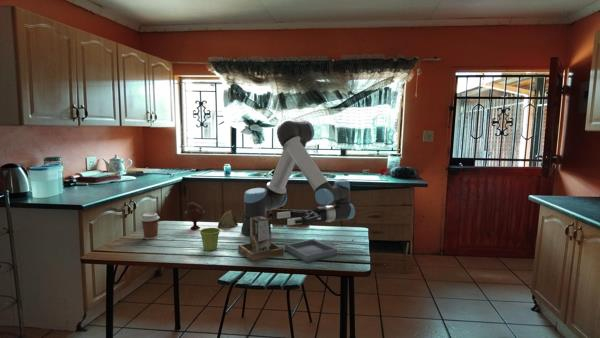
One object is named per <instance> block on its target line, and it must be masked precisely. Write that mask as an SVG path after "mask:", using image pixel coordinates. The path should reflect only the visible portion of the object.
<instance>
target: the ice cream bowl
mask: <svg viewBox="0 0 600 338" xmlns="http://www.w3.org/2000/svg"><path fill="white" fill-rule="evenodd" d="M185 208H186V211H184V213H183V215H184V216H185V218H186V219H187V220H188V221H190V222H192V223H193V225H192V226H191V227H190V228H189V230H191V231H197V230H196V229H198V230H201V226H198V224H197V222H199V221H201V220H202V219H203V217H204V216H205V213H206V211H205V210H203V206H201V205H200V204H197V203H196V202H191V201H190V202H189V203H187V204H186V207H185Z"/></svg>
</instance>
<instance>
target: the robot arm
mask: <svg viewBox="0 0 600 338" xmlns="http://www.w3.org/2000/svg"><path fill="white" fill-rule="evenodd" d="M276 136H277V139H278V140H277V141H278V142H279V144H280V146H281V147H282V148H283V150H282V152H281V155H280V158H279V160H278V162H277V165H276V167H275V169H274V173H273V175H272V178H271V180H270V181H268V182H267V183H266V186H265V188H264V187H255V188H251V189H247V190H245V191H244V195H243V211H244V213H243V215H244V217H243V219H244V220H243V222H242V225H241V228H240V231H241V235H242V236H245V237H250V217H256V216H264V217H266V218H267V211H272V210H276V209H277V210H278V209H279V208H281V207H283V206H285V204H286V202H287V201H288V194H287V193H288V192H287V188H286V186H287V183H288V182H289V178H290V177H291V174H292V171H293V169H294V167H295V165H296V166H297V167H298V168H299V170H300V171H301V173H302V175H303V176H304V177H305V179H306V181H307V182H308V183H309V184H310V187H311V188H312V189H313V191H314V192H315V195H314V198H315V202H316V203H317V204H319V206H316V207H315V208H314V210H313V211H312V210H310V209H304V210H303V209H302V210H301V209H300V210H299V209H289V211H281V212H280V211H279V212H276V218H277V219H279V220H280V219H287V220H286V221H287V223H286V224H287V226H293V225H294V226H295V225H305V226H308V225H312V224H314V223H318V224H321V223H331V222H336V221H337V222H338V221H346V220H351V219H353V218H354V217H355V214H356V210H355V205H353V204H352V203H351V202H350V199H351V196H350V195H351V186H350V181H349V180H347V179H336V180H335V181H334V182H333V186H332V185H331V184H330V183H329V181H328V180H327V178H326V177H325V175H324V174H323V173H322V171H321V169H320V168H319V167H318V165H317V164H316V162H315V161H314V160H313V158H312V157H311V155H310V154H309V152H308V151H307V149H306V146H307V143H309V142H311V141H312V140H313V139H314V138H315V137H314V136H315V129H314V125H313V124H312V123H311V122H310V121H309V120H306V119H289V118H288V119H284V120H282V121H281V122H280V123H279V124H278V127H277V129H276ZM331 204H332V205H331ZM333 204H334V205H333ZM320 205H321V206H320Z"/></svg>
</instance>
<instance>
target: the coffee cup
mask: <svg viewBox="0 0 600 338" xmlns="http://www.w3.org/2000/svg"><path fill="white" fill-rule="evenodd" d="M160 219H161V218H160V216H159V215H158V213H156V212H149V213H148V212H147V213H146V212H145V213H143V214H142V216H141V217H140V221H141V223H142V230H143V238H144V239H145V240H154V239H157V238H158V233H159V220H160Z"/></svg>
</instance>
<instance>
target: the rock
mask: <svg viewBox="0 0 600 338" xmlns="http://www.w3.org/2000/svg"><path fill="white" fill-rule="evenodd" d="M218 220H219V221H218V224H217V228H234V227H238V225H239V224H238V221H237V218H236V215H235V212H234V210H232V209H229V210H227V211H225V212H224V213H223V215H222V216H221V218H220V219H218Z"/></svg>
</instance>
